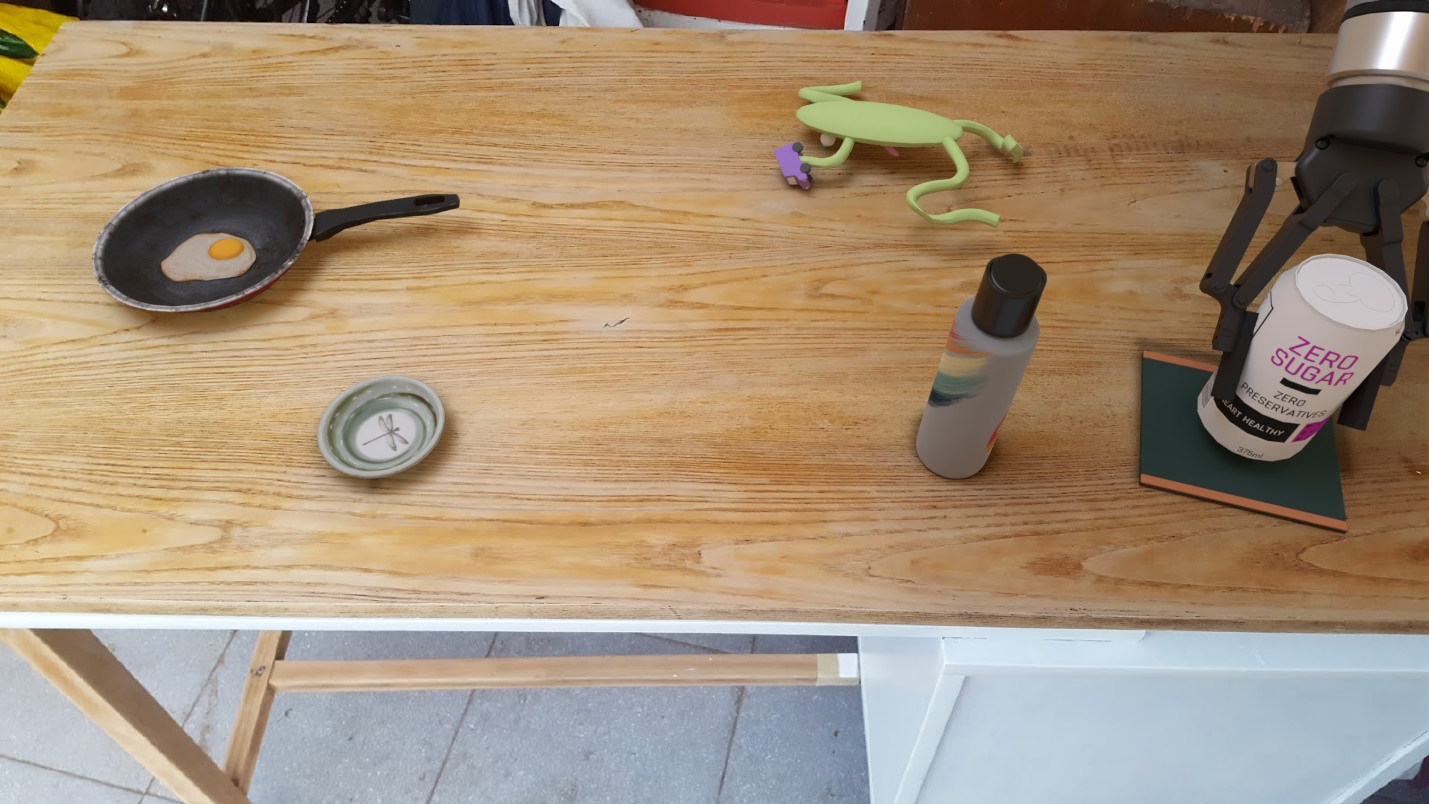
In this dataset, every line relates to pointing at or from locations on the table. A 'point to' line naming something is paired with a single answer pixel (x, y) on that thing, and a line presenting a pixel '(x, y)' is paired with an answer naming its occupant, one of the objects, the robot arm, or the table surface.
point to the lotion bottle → (981, 367)
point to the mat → (1229, 454)
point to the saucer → (381, 427)
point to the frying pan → (223, 237)
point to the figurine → (886, 142)
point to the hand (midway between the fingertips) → (1285, 412)
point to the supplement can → (1306, 355)
